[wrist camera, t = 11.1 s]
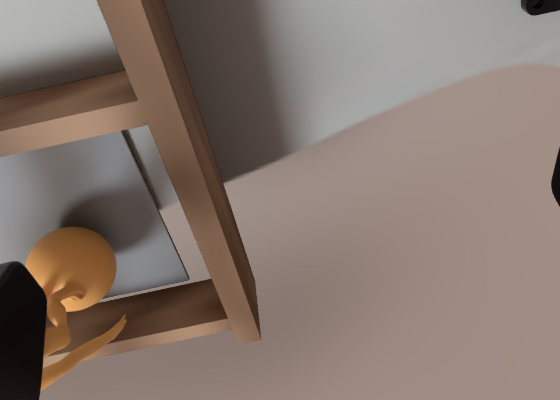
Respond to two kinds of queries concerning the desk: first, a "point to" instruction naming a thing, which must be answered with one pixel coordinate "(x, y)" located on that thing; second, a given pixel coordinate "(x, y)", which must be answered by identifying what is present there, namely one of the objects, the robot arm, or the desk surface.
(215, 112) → the desk surface
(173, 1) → the desk surface
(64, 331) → the figurine
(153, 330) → the notched stand
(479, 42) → the desk surface
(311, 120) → the desk surface
